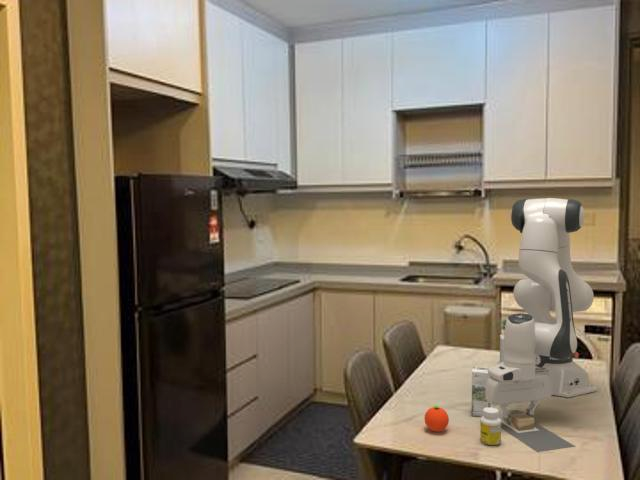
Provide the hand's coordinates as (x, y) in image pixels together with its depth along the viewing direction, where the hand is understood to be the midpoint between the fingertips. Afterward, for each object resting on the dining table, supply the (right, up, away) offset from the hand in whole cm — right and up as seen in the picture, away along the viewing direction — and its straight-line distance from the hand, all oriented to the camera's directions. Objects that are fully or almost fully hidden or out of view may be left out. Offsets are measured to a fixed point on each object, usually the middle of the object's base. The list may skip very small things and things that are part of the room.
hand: (518, 416), depth 169 cm
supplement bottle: (-12, -4, -12) cm, 17 cm away
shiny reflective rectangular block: (0, -3, 0) cm, 3 cm away
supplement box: (+17, +1, +59) cm, 61 cm away
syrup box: (-8, -3, +10) cm, 13 cm away
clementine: (-25, -4, -1) cm, 25 cm away
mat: (+2, -4, -6) cm, 7 cm away
